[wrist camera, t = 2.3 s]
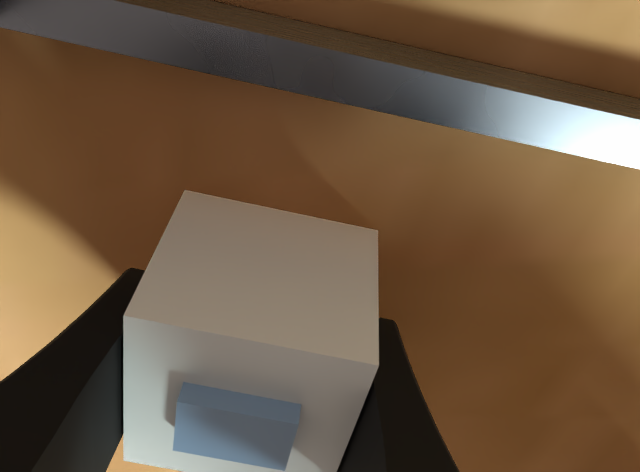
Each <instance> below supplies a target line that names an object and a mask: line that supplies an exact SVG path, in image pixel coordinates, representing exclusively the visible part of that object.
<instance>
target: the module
mask: <svg viewBox="0 0 640 472" xmlns="http://www.w3.org/2000/svg"><path fill="white" fill-rule="evenodd" d="M378 367H379V298H378V230H374V229H370V228H365V227H360V226H355V225H351V224H346V223H341V222H336V221H331V220H327V219H322V218H317V217H312V216H308V215H303V214H298V213H293V212H289V211H284V210H279V209H274V208H269V207H265V206H260V205H255V204H250V203H246V202H241V201H236V200H231V199H227V198H222V197H217V196H212V195H207V194H203V193H198V192H193V191H188V190H184V192H183V194H182V196H181V198H180V200H179V202H178V204H177V206H176V208H175V211H174V213H173V215H172V217H171V219H170V221H169V223H168V225H167V227H166V229H165V231H164V233H163V235H162V237H161V239H160V241H159V243H158V245H157V248H156V250H155V252H154V254H153V256H152V258H151V260H150V262H149V264H148V266H147V268H146V270H145V272H144V274H143V276H142V278H141V280H140V282H139V285H138V287H137V289H136V291H135V293H134V295H133V297H132V299H131V301H130V303H129V305H128V307H127V309H126V311H125V313H124V315H123V420H124V461H129V462H134V463H140V464H145V465H151V466H156V467H162V468H167V469H173V470H178V471H184V472H337V470H338V467H339V465H340V462H341V460H342V457H343V455H344V452H345V450H346V447H347V445H348V442H349V440H350V437H351V435H352V432H353V430H354V427H355V425H356V422H357V419H358V417H359V414H360V412H361V409H362V407H363V404H364V402H365V399H366V397H367V394H368V392H369V389H370V387H371V384H372V382H373V379H374V377H375V374H376V372H377V369H378Z"/></svg>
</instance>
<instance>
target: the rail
mask: <svg viewBox="0 0 640 472" xmlns="http://www.w3.org/2000/svg"><path fill="white" fill-rule="evenodd" d="M0 27H1V28H5V29H10V30H14V31H19V32H23V33H28V34H32V35H37V36H41V37H46V38H50V39H55V40H59V41H64V42H68V43H73V44H77V45H82V46H86V47H91V48H95V49H100V50H104V51H109V52H113V53H118V54H122V55H127V56H131V57H136V58H140V59H145V60H149V61H154V62H159V63H163V64H168V65H172V66H177V67H181V68H186V69H190V70H195V71H199V72H204V73H208V74H213V75H217V76H222V77H226V78H231V79H235V80H240V81H244V82H249V83H253V84H258V85H262V86H267V87H271V88H276V89H280V90H285V91H289V92H294V93H298V94H303V95H307V96H312V97H316V98H321V99H325V100H330V101H334V102H339V103H343V104H348V105H352V106H357V107H361V108H366V109H370V110H375V111H379V112H384V113H388V114H393V115H397V116H402V117H406V118H411V119H415V120H420V121H424V122H429V123H433V124H438V125H442V126H447V127H451V128H456V129H460V130H465V131H469V132H474V133H478V134H483V135H487V136H492V137H496V138H501V139H505V140H510V141H514V142H519V143H523V144H528V145H532V146H537V147H541V148H546V149H550V150H555V151H559V152H564V153H568V154H573V155H577V156H582V157H586V158H591V159H595V160H600V161H604V162H609V163H613V164H618V165H622V166H627V167H631V168H636V169H640V99H638V98H633V97H629V96H625V95H620V94H616V93H612V92H607V91H603V90H599V89H594V88H590V87H585V86H581V85H577V84H572V83H568V82H564V81H559V80H555V79H551V78H546V77H542V76H538V75H533V74H529V73H525V72H520V71H516V70H511V69H507V68H503V67H498V66H494V65H490V64H485V63H481V62H477V61H472V60H468V59H464V58H459V57H455V56H450V55H446V54H442V53H437V52H433V51H429V50H424V49H420V48H416V47H411V46H407V45H403V44H398V43H394V42H389V41H385V40H381V39H376V38H372V37H368V36H363V35H359V34H355V33H350V32H346V31H342V30H337V29H333V28H328V27H324V26H320V25H315V24H311V23H307V22H302V21H298V20H294V19H289V18H285V17H281V16H276V15H272V14H267V13H263V12H259V11H254V10H250V9H246V8H241V7H237V6H233V5H228V4H224V3H220V2H215V1H211V0H0Z"/></svg>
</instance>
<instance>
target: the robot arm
mask: <svg viewBox="0 0 640 472" xmlns="http://www.w3.org/2000/svg"><path fill="white" fill-rule="evenodd" d="M144 272H145V270H140V269H135V268H130V269H128V270H126V271H125V272H124V273H123V274H122V275H121V276H120V277H119V278H118V279H117V280H116V281H115V282H114V283H113V284H112V285H111V286H110V288H109V289H108V290H107V291H106V292H105V293H103V294H102V295H101V296H100V297H99V298H98V299H97V300H96V301H95V302H94V303H93V304H92V305H91V306H90V307H89V308H88V309H87V310H86V311H85V312H84V313H83V314H81V315H80V316H79V317H78V318H77V319H76V320H75V321H74V322H72V323H71V324H70V325H69V326H68V327H67V328H66V329H65V330H63V331H62V332H61V333H60V334H59V335H58V336H57V337H56V338H54V339H53V340H52V341H51V342H50V343H49V344H47V345H46V346H45V347H44V348H42V349H41V350H40V351H39V352H38V353H36V354H35V355H34V356H33V357H31V358H30V359H29V360H28V361H26V362H25V363H24V364H23V365H21V366H20V367H19V368H18V369H16V370H15V371H14V372H12V373H11V374H10V375H9V376H7V377H6V378H5V379H3V380H2V381H0V472H106V470H107V468H108V466H109V464H110V461H111V459H112V457H113V455H114V453H115V451H116V448H117V446H118V444H119V442H120V440H121V438H122V435H123V433H124V420H123V315H124V313H125V311H126V309H127V307H128V305H129V303H130V301H131V299H132V297H133V295H134V293H135V291H136V289H137V287H138V285H139V282H140V280H141V278H142V276H143V274H144ZM337 472H459V470H458V468H457V466H456V464H455V462H454V460H453V458H452V456H451V455H450V453H449V451H448V449H447V447H446V445H445V443H444V441H443V439H442V437H441V435H440V433H439V430H438V428H437V426H436V424H435V422H434V420H433V418H432V415H431V413H430V411H429V409H428V406H427V404H426V402H425V399H424V397H423V395H422V393H421V390H420V388H419V385H418V383H417V380H416V378H415V375H414V373H413V370H412V367H411V365H410V362H409V360H408V357H407V354H406V351H405V348H404V345H403V343H402V339H401V336H400V333H399V330H398V327H397V325H396V323H395V322H394V320H389V319H384V318H379V367H378V369H377V372H376V374H375V377H374V379H373V382H372V384H371V387H370V389H369V392H368V394H367V397H366V399H365V402H364V404H363V407H362V409H361V412H360V414H359V417H358V419H357V422H356V425H355V427H354V430H353V432H352V435H351V437H350V440H349V442H348V445H347V447H346V450H345V452H344V455H343V457H342V460H341V462H340V465H339V467H338V470H337Z"/></svg>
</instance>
